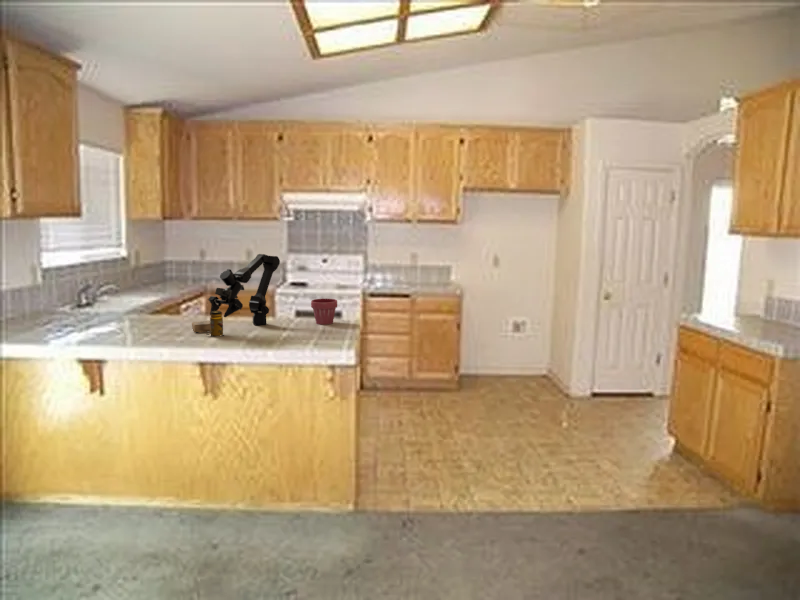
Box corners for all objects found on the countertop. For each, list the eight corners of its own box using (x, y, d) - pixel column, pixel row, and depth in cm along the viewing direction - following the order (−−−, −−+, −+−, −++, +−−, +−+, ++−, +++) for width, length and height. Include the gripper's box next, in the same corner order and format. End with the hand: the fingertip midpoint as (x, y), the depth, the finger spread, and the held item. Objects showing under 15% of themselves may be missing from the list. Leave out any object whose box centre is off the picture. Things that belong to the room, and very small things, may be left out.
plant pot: (314, 326, 349) (313, 302, 347) (309, 321, 362) (308, 298, 360) (340, 324, 353) (339, 301, 352) (334, 320, 367) (334, 297, 365)
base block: (210, 328, 341) (209, 320, 340) (212, 331, 333) (212, 323, 332) (192, 329, 337) (191, 321, 336) (194, 332, 329) (194, 325, 328)
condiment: (225, 335, 323) (225, 312, 321) (208, 337, 318) (208, 313, 316) (221, 333, 329) (220, 309, 327) (204, 335, 324) (203, 311, 322)
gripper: (210, 280, 330) (194, 304, 322) (238, 283, 322) (222, 307, 314) (222, 294, 338) (206, 317, 330) (249, 296, 330) (234, 321, 322)
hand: (217, 316), depth 324 cm, fingers open, 9 cm apart
